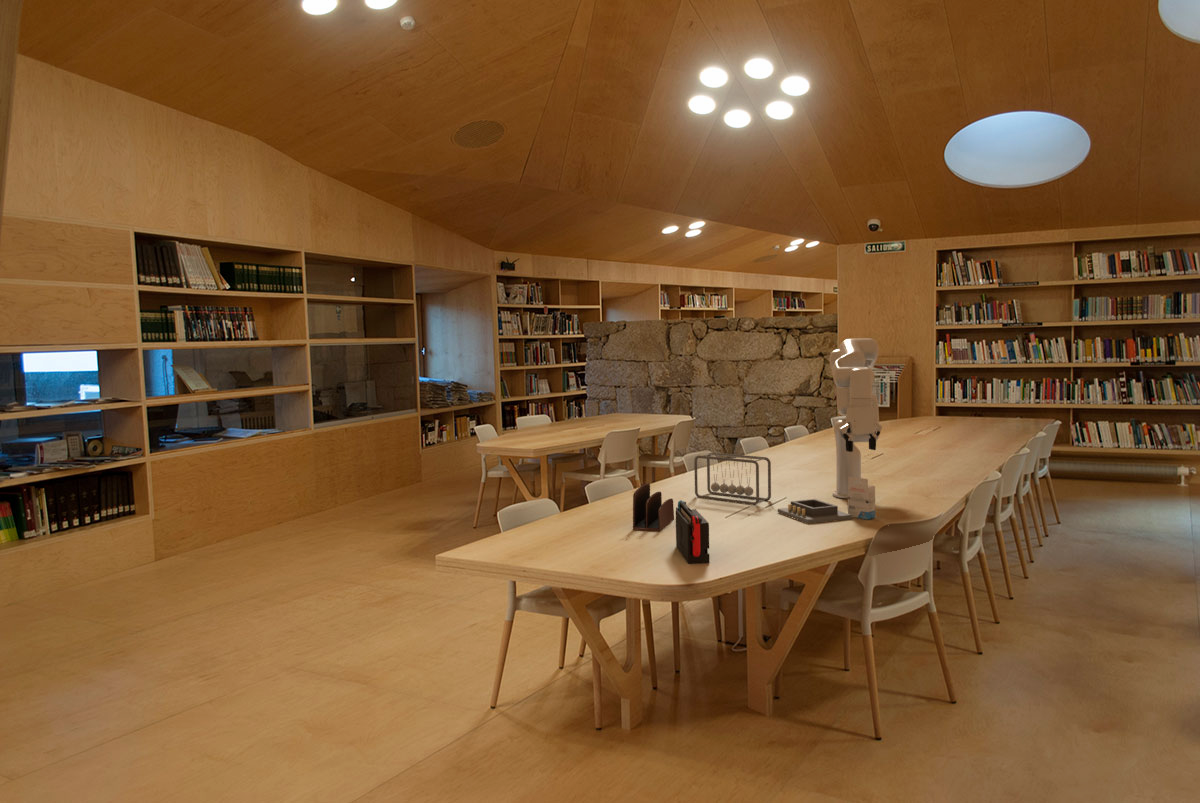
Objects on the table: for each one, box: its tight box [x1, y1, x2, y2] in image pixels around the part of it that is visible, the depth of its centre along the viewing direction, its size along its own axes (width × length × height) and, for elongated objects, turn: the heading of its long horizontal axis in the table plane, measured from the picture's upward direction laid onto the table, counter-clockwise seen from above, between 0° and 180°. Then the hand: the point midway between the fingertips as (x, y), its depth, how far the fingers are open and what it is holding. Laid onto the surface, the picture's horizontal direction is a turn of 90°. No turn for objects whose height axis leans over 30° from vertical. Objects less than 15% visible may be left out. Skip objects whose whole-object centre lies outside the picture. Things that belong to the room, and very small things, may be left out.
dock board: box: [777, 498, 852, 524], centre depth 296 cm, size 18×20×4 cm
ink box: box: [847, 477, 876, 520], centre depth 292 cm, size 8×5×15 cm, turn 39°
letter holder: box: [632, 483, 675, 532], centre depth 289 cm, size 10×20×14 cm, turn 161°
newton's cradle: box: [693, 452, 772, 506], centre depth 330 cm, size 30×10×18 cm, turn 49°
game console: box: [675, 499, 710, 565], centre depth 248 cm, size 28×6×15 cm, turn 5°
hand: (860, 450), depth 291 cm, fingers open, 9 cm apart
